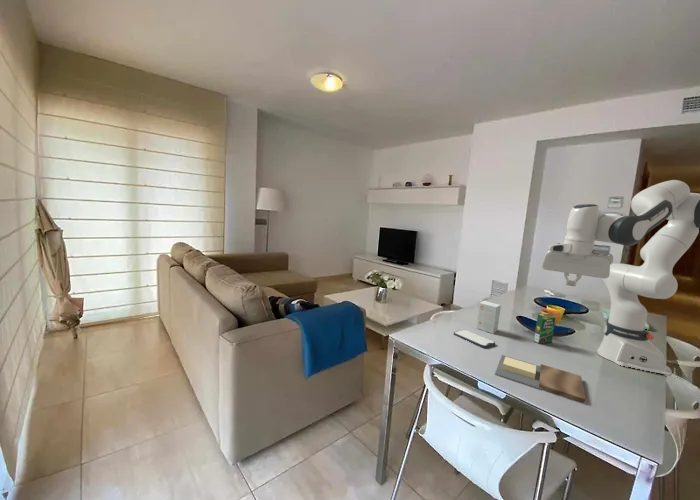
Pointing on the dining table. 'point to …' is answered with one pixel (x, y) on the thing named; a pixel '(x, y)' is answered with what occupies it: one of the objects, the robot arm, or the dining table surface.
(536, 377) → the mat
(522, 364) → the tile
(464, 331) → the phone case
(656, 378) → the dining table surface
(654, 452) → the dining table surface
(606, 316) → the towel
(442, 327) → the dining table surface
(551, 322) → the coffee box
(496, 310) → the small box
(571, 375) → the brown flat block
